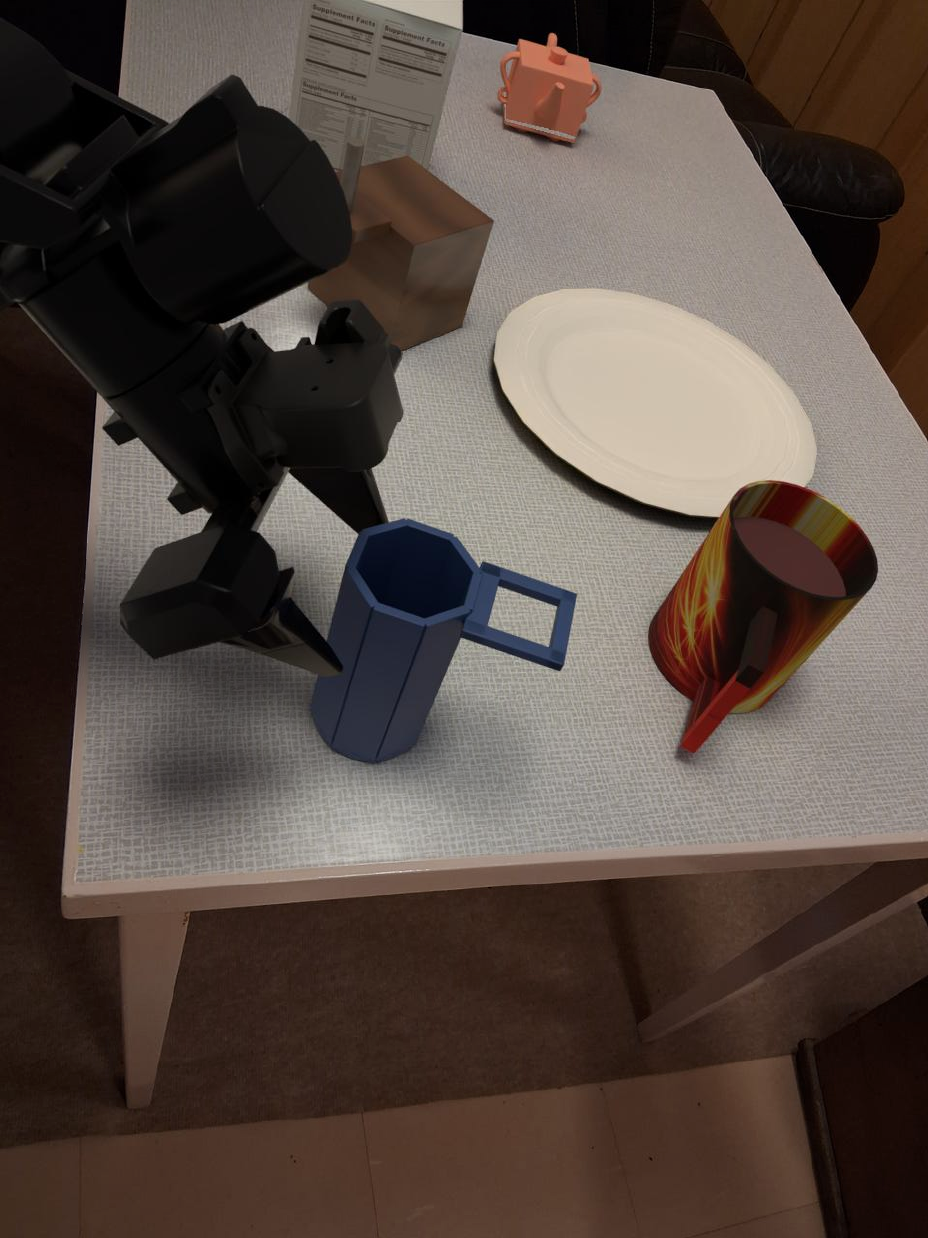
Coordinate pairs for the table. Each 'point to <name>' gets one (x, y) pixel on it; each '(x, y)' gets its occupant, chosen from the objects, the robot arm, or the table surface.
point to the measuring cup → (414, 633)
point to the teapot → (547, 88)
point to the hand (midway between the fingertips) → (362, 604)
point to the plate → (650, 399)
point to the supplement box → (374, 75)
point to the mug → (758, 600)
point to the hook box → (406, 248)
